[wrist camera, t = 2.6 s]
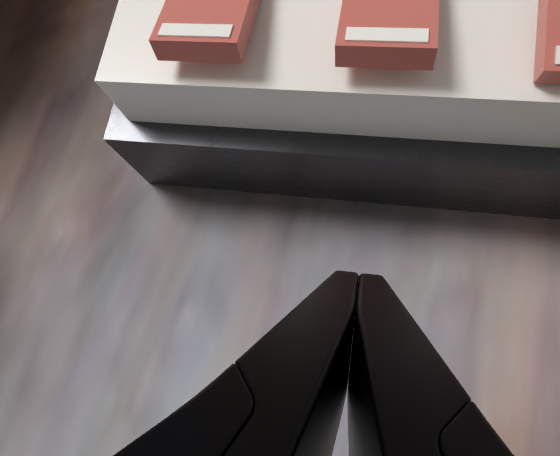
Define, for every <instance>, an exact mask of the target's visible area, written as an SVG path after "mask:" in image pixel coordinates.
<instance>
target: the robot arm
mask: <svg viewBox="0 0 560 456" xmlns="http://www.w3.org/2000/svg"><path fill="white" fill-rule="evenodd" d="M358 279H359V281H358ZM357 289H358V291H357ZM356 299H357V300H356ZM355 309H356V310H355ZM354 319H355V320H354ZM353 328H354V330H353ZM352 338H353V340H352ZM351 348H352V350H351ZM350 357H351V360H350ZM349 367H350V370H349ZM348 377H349V380H348ZM347 385H348V439H349V456H514V455H513V454H512V452H511V451H510V450H509V449H508V447H507V446H506V445H505V443H504V442H503V441H502V440H501V438H500V437H499V436H498V434H497V433H496V432H495V430H494V429H493V428H492V427H491V425H490V424H489V423H488V421H487V420H486V419H485V417H484V416H483V414H482V413H481V412H480V410H479V409H478V407H477V406H476V405H475V403H474V402H471V398H470V397H469V395H468V394H467V393H466V391H465V390H464V388H463V387H462V386H461V384H460V383H459V381H458V380H457V379H456V377H455V376H454V375H453V373H452V372H451V370H450V369H449V368H448V366H447V365H446V363H445V362H444V361H443V359H442V358H441V356H440V355H439V354H438V352H437V351H436V350H435V348H434V347H433V345H432V344H431V343H430V341H429V340H428V338H427V337H426V336H425V334H424V333H423V332H422V330H421V329H420V327H419V326H418V325H417V323H416V322H415V320H414V319H413V318H412V316H411V315H410V314H409V312H408V311H407V309H406V308H405V307H404V305H403V304H402V302H401V301H400V300H399V298H398V297H397V296H396V294H395V293H394V291H393V290H392V289H391V287H390V286H389V284H388V283H387V282H386V280H385V279H384V278H383V277H382V276H380V275H373V274H360V276H358V274H357V273H355V272H347V271H336V272H334V273H333V274H332V275H331V276H330V277H329V278H328V279H327V280H325V281H324V282H323V283H322V284H321V285H320V286H319V287H318V288H317V289H315V290H314V291H313V292H312V293H311V294H310V295H309V296H308V297H307V298H305V299H304V300H303V301H302V302H301V303H300V304H299V305H298V306H297V307H295V308H294V309H293V310H292V311H291V312H290V313H289V314H288V315H287V316H285V317H284V318H283V319H282V320H281V321H280V322H279V323H278V324H277V325H275V326H274V327H273V328H272V329H271V330H270V331H269V332H268V333H267V334H265V335H264V336H263V337H262V338H261V339H260V340H259V341H258V342H257V343H255V344H254V345H253V346H252V347H251V348H250V349H249V350H248V351H247V352H245V353H244V354H243V355H242V356H241V357H240V358H239V359H238V360H237V361H236V362H235V364H232V365H231V366H230V367H229V368H227V369H226V370H225V371H224V372H223V373H222V374H221V375H220V376H219V377H217V378H216V379H215V380H214V381H213V382H211V383H210V384H209V385H208V386H207V387H205V388H204V389H203V390H202V391H201V392H200V393H198V394H197V395H196V396H195V397H193V398H192V399H191V400H189V401H188V402H187V403H185V404H184V405H183V406H181V407H180V408H179V409H177V410H176V411H175V412H173V413H172V414H171V415H169V416H168V417H167V418H165V419H164V420H163V421H161V422H160V423H158V424H157V425H156V426H154V427H153V428H151V429H150V430H148V431H147V432H146V433H144V434H143V435H141V436H140V437H139V438H137V439H136V440H134V441H133V442H132V443H130V444H129V445H127V446H126V447H125V448H123V449H122V450H120V451H119V452H118V453H116V454H115V455H113V456H332V452H333V448H334V444H335V440H336V436H337V431H338V427H339V423H340V419H341V415H342V411H343V407H344V402H345V397H346V392H347Z"/></svg>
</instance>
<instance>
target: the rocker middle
mask: <svg viewBox="0 0 560 456" xmlns="http://www.w3.org/2000/svg"><path fill="white" fill-rule="evenodd" d="M438 25H439V0H342V6H341V12H340V18H339V24H338V30H337V36H336V42H335V67H351V68H378V69H406V70H433V67H434V63H435V58H436V54H437V50H438Z"/></svg>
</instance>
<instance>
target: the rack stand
mask: <svg viewBox="0 0 560 456" xmlns="http://www.w3.org/2000/svg"><path fill="white" fill-rule="evenodd" d="M104 140H105V141H106V142H107V143H108V144H109V145H110V146H111V147H112V148H113V149H114V150H115V151H116V152H117V153H118V154H119V155H120V156H122V157H123V158H124V159H125V160H126V161H127V162H128V163H129V164H130V165H131V166H132V167H133V168H134V169H135V170H136V171H137V172H138V173H139V174H140V175H141V176H143V177H144V178H145V179H146V180H147V181H148V182H149V183H157V184H168V185H179V186H191V187H202V188H213V189H225V190H236V191H247V192H258V193H270V194H281V195H292V196H303V197H315V198H326V199H337V200H348V201H360V202H371V203H382V204H393V205H405V206H416V207H427V208H439V209H450V210H461V211H472V212H484V213H495V214H506V215H517V216H529V217H540V218H551V219H560V148H553V147H537V146H521V145H505V144H489V143H473V142H458V141H442V140H426V139H410V138H394V137H378V136H362V135H346V134H330V133H314V132H299V131H283V130H267V129H251V128H235V127H219V126H203V125H187V124H171V123H156V122H140V121H129V120H128V119H127V118H126V117H125V116H124V114H123V113H122V112H121V111H120V110H119V109H118V108H117V106H116V105H115V104H113V107H112V111H111V114H110V118H109V121H108V125H107V128H106V132H105V135H104Z"/></svg>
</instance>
